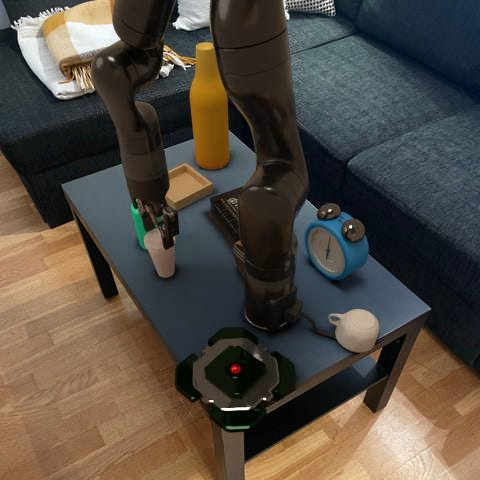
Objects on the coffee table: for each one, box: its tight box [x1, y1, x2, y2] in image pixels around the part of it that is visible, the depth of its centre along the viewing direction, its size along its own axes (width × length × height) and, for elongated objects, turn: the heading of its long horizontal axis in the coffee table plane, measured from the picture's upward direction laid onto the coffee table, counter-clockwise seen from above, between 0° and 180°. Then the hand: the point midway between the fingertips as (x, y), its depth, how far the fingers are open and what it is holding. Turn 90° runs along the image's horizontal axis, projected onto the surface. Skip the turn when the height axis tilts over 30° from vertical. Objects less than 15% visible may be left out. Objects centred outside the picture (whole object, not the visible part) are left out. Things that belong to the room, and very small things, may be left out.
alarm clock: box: [304, 202, 370, 283], centre depth 97 cm, size 13×6×15 cm, turn 37°
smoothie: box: [144, 227, 177, 279], centre depth 98 cm, size 6×6×14 cm
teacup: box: [327, 308, 380, 354], centre depth 89 cm, size 10×8×5 cm
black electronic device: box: [204, 185, 245, 250], centre depth 105 cm, size 20×14×17 cm
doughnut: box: [232, 241, 244, 278], centre depth 98 cm, size 9×4×10 cm, turn 32°
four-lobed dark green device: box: [174, 326, 297, 434], centre depth 84 cm, size 18×18×5 cm
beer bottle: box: [189, 41, 231, 171], centre depth 117 cm, size 9×9×29 cm
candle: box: [130, 199, 164, 251], centre depth 104 cm, size 6×6×12 cm
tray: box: [165, 162, 214, 212], centre depth 119 cm, size 12×12×3 cm
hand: (159, 238), depth 95 cm, fingers closed on smoothie, 6 cm apart
